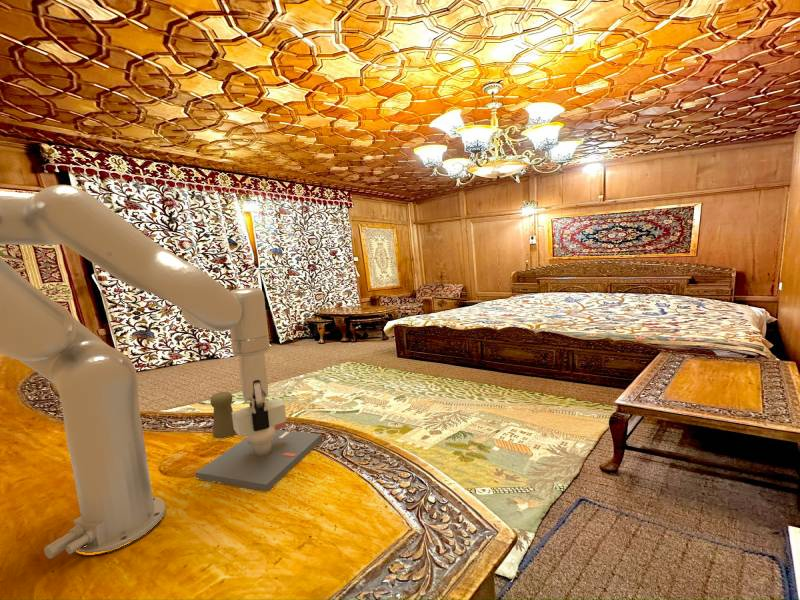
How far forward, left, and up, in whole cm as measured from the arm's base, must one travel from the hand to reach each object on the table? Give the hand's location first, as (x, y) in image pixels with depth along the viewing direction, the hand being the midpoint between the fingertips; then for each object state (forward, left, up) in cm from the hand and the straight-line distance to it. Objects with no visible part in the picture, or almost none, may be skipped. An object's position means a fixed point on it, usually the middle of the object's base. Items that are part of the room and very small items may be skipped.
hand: (260, 422), depth 80 cm
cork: (+8, +19, -9) cm, 22 cm away
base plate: (0, 0, -8) cm, 8 cm away
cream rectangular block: (0, 0, -4) cm, 4 cm away
